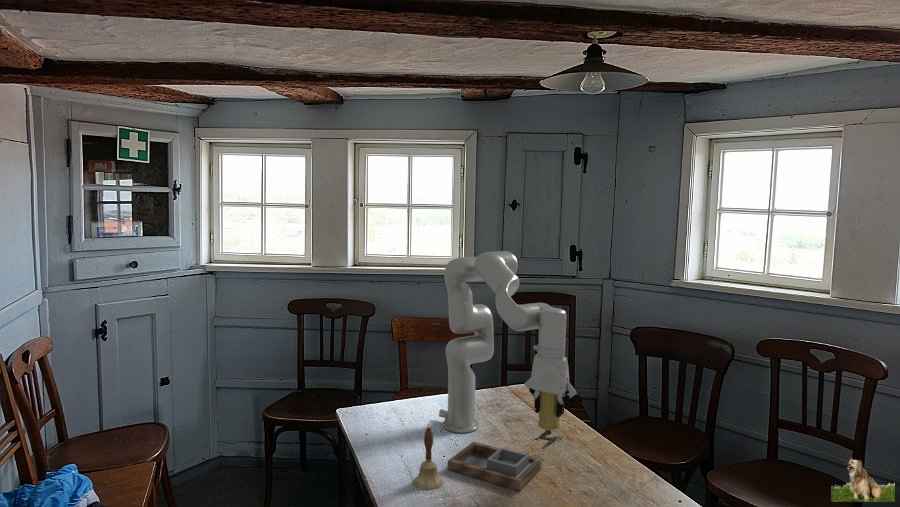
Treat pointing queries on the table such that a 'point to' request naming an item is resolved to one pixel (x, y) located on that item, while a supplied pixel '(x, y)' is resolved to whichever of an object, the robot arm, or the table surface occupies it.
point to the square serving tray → (508, 462)
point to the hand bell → (428, 467)
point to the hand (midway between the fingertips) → (548, 413)
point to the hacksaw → (547, 438)
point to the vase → (548, 411)
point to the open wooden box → (474, 465)
